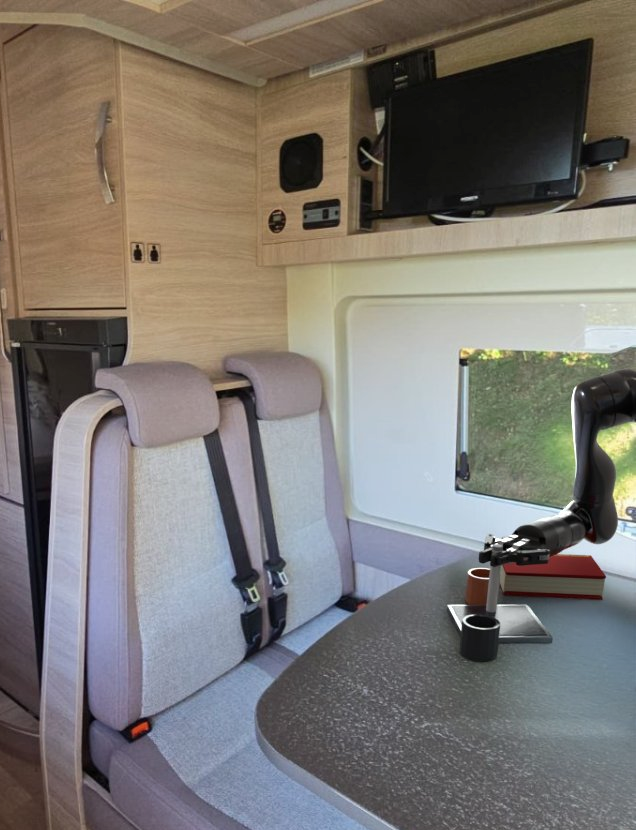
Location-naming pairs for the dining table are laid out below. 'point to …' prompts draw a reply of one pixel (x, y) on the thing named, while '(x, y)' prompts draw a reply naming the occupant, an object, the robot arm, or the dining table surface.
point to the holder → (479, 637)
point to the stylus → (493, 582)
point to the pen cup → (477, 586)
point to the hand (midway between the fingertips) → (486, 559)
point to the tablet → (506, 622)
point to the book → (555, 578)
